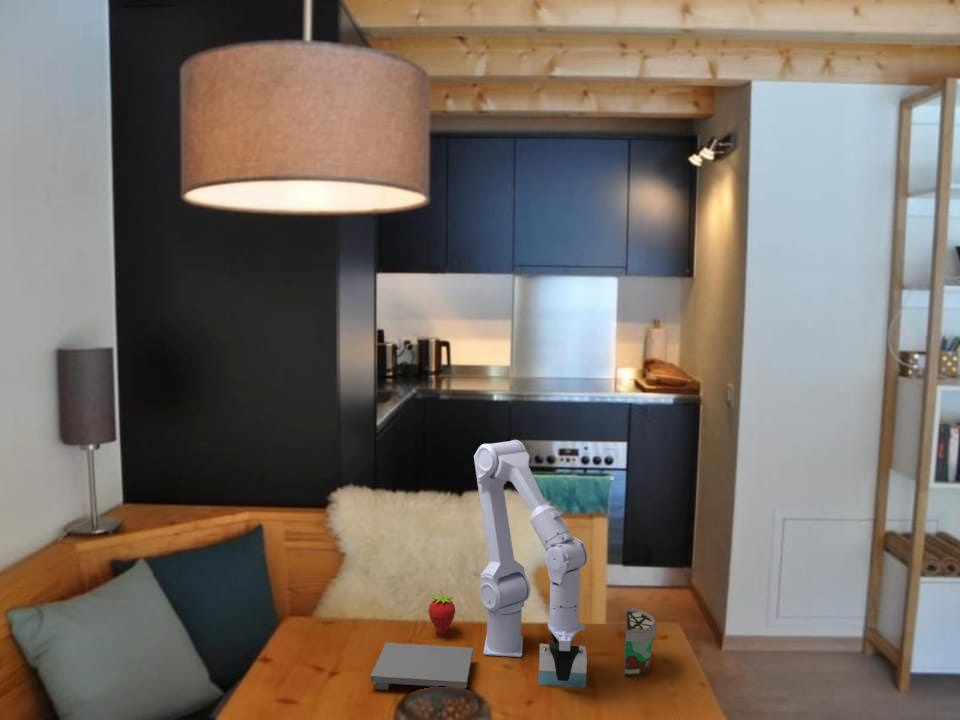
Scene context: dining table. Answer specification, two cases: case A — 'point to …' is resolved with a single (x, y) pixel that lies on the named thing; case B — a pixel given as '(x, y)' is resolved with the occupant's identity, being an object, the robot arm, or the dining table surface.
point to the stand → (422, 665)
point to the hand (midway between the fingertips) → (562, 670)
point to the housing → (549, 672)
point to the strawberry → (441, 613)
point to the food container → (638, 642)
